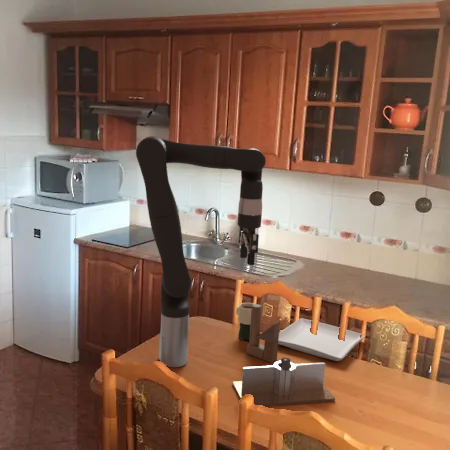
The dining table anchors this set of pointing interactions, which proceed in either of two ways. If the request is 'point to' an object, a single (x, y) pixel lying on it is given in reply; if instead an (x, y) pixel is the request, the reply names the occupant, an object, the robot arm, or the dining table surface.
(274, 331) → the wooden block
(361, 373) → the dining table surface
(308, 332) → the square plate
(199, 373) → the dining table surface
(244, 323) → the character mug
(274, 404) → the hinge stand
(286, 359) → the hinge pin
